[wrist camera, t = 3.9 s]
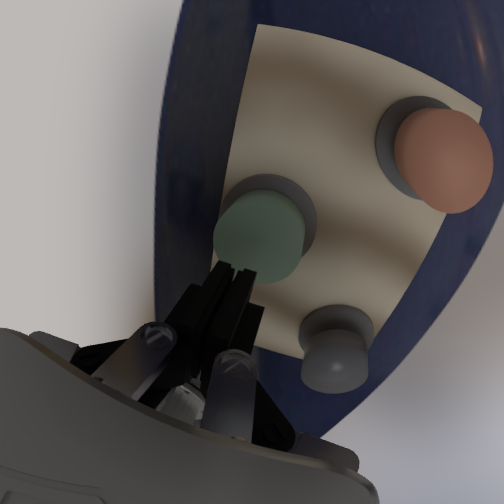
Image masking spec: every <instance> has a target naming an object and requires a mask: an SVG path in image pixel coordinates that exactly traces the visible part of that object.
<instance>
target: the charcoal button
mask: <svg viewBox="0 0 504 504" xmlns="http://www.w3.org/2000/svg"><path fill="white" fill-rule="evenodd" d="M367 377H368V358H367V345H366V342H365V341H364V339H363V338H362V337H361V336H360V335H358V334H356V333H354V332H351V331H348V330H342V329H334V330H327V331H323V332H320V333H318V334H316V335H314V336H313V337H312V338H310V339H309V341H308V342H307V343H306V346H305V351H304V357H303V364H302V370H301V378H302V381H303V382H304V383H305V384H306V385H307V386H308V387H310V388H311V389H313V390H316V391H319V392H323V393H343V392H347V391H351V390H353V389H356V388H357V387H359V386H360V385H362V384H363V383H364V382H365V381H366V379H367Z"/></svg>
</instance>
